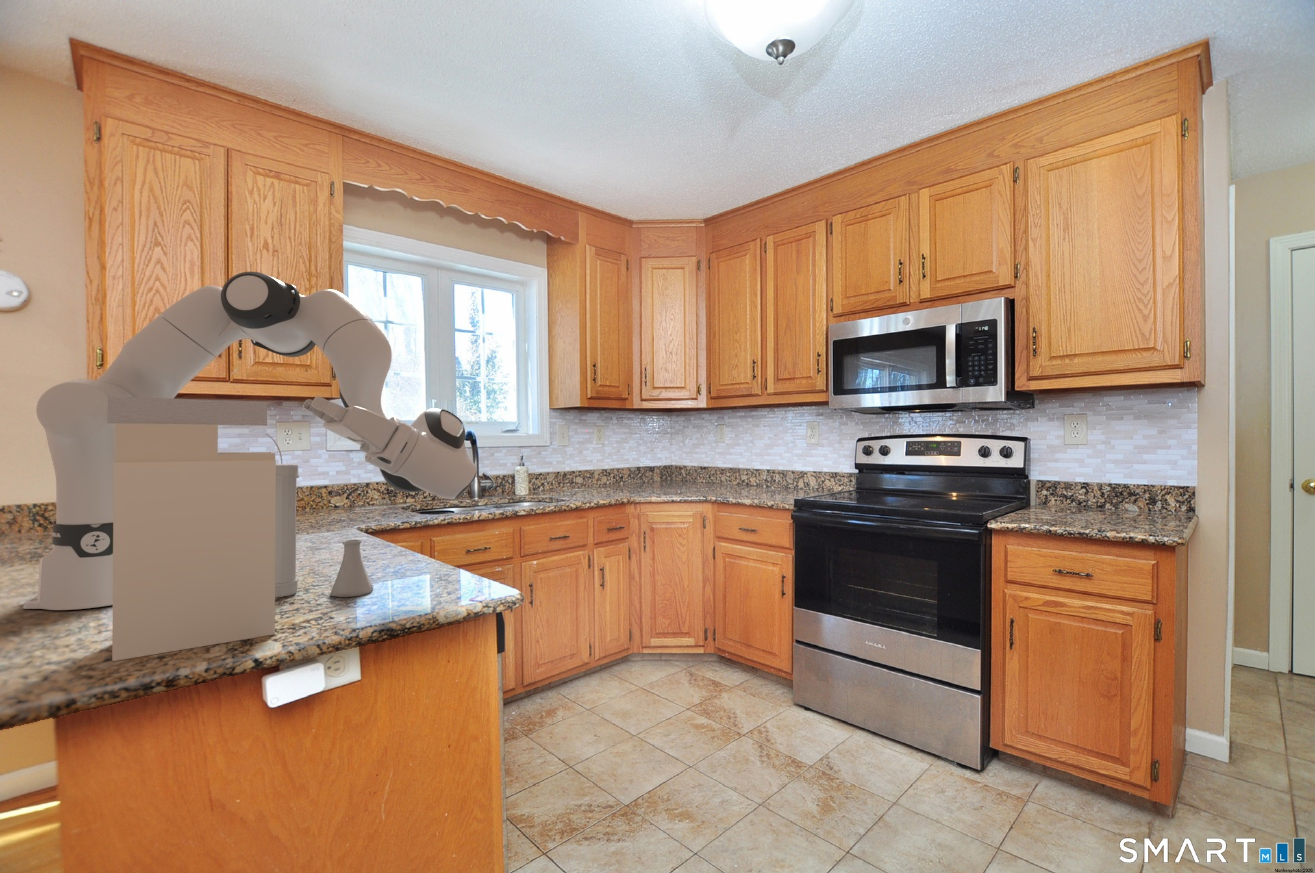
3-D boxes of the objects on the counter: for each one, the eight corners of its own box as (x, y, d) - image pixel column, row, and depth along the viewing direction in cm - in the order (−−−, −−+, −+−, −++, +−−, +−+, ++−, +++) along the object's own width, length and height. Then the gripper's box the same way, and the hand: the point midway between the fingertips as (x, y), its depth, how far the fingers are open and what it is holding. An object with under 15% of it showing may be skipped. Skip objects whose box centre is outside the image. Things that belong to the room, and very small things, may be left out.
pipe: (281, 599, 109) (282, 433, 109) (252, 597, 110) (253, 433, 110) (305, 591, 114) (306, 433, 114) (277, 589, 115) (278, 433, 115)
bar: (110, 423, 83) (110, 397, 83) (264, 425, 94) (265, 402, 94) (107, 423, 80) (107, 396, 80) (267, 425, 91) (267, 402, 91)
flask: (361, 598, 109) (361, 544, 109) (321, 598, 109) (322, 543, 109) (380, 588, 117) (380, 537, 117) (343, 588, 117) (343, 537, 117)
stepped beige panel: (119, 640, 86) (121, 424, 86) (268, 617, 97) (269, 426, 97) (112, 661, 78) (114, 423, 78) (274, 634, 89) (276, 425, 89)
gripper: (383, 428, 113) (310, 388, 106) (414, 427, 97) (330, 380, 89) (365, 457, 111) (289, 419, 104) (394, 461, 95) (306, 416, 87)
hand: (309, 401), depth 96 cm, fingers open, 8 cm apart
